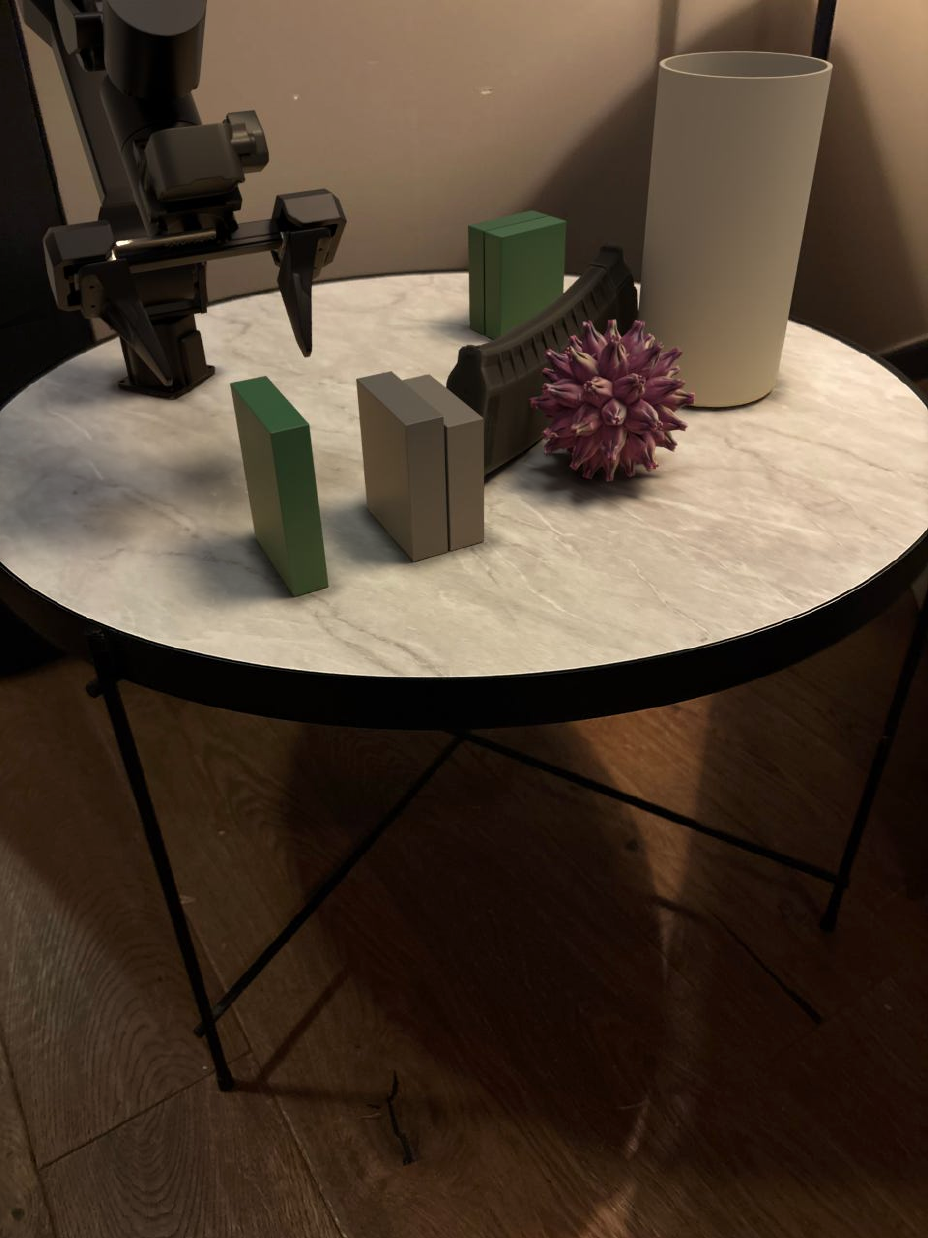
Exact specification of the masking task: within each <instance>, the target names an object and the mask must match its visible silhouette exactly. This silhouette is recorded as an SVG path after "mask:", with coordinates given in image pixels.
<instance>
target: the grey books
mask: <svg viewBox="0 0 928 1238" xmlns="http://www.w3.org/2000/svg"><path fill="white" fill-rule="evenodd" d="M355 383H356V393H357V395H356V396H357V405H358V416H359V417H358V418H359V428H360V441H361V451H362V463H363V474H364V487H365V498H366V509H367V510H368V511H369V513H371V515H372V516H373V517H374V518H375V520H377V522H378V523H379V524H380V525H381V527H382V528H383V529H384V530H385V531H386V532H387V533H388V534H389V536H390V537H391V538H392V539H393V540H394V541H395V542H396V544H397V545H398V546H399V547H400V548H401V550H402V551H403V552H404V553H405V554H406V555H407V557H408V558H409V559H410V560H411V561H412V562H413V563H414V562H418V561H421V560H424V559H428V558H431V557H436V556H439V555H441V554H445V553H448V552H449V551H456V550H459V549H462V548H466V547H469V546H473V545H477V544H479V543H483V542H485V476H484V425H483V418H482V417H481V416H480V415H479V414H477V413H476V412H475V411H474V410H473V409H471V408H470V407H469V406H468V405H466V404H465V403H464V402H463V401H462V400H460V399H459V398H458V397H457V396H455V395H454V394H453V393H452V392H451V391H449V390H448V389H447V388H446V386H444V385H443V384H442V383H441V382H439V381H438V380H437V379H436V378H435V377H434V376H432V375H431V374H430V373H428V374H424V375H419V376H415V377H410V378H406V379H405V378H404V379H401V378H400V377H399V376H398V375H397V374H396V373H394V372H393V371H391V370H390V371H386V372H385V371H384V372H381V373H376V374H372V375H368V376H367V375H366V376H363V377H362V376H361V377H358V378H356V379H355Z"/></svg>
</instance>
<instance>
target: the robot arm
mask: <svg viewBox="0 0 928 1238" xmlns="http://www.w3.org/2000/svg"><path fill="white" fill-rule="evenodd" d="M16 3H17V6H18V8H19V11H20V15H21V17H22V19H23V23H24V24H25V26H26V27H28V28H29V29H30V30H31V31H32V32H33V33H34V34H35V35H36V36H38V37H39V38H40V39H41V40H42V41H43V42H44V43H45V44H46V45H48V46H49V47H50V48H51V50H52V53H53V56H54V58H55V61H56V65H57V68H58V71H59V75H60V77H61V81H62V84H63V87H64V90H65V94H66V97H67V100H68V103H69V106H70V109H71V113H72V116H73V120H74V123H75V126H76V129H77V133H78V135H79V138H80V142H81V144H82V148H83V151H84V154H85V157H86V160H87V164H88V167H89V171H90V173H91V176H92V177H91V178H92V180H93V184H94V187H95V189H96V193H97V196H98V199H99V202H100V205H101V206H100V207H99V211H98V214H97V220H93V221H86V222H79V223H71V224H66V225H58V226H57V225H56V226H52V227H50V226H49V227H48V230H47V231H46V233H45V235H44V236H43V238H42V242H43V243H42V244H43V250H44V251H43V252H44V258H45V265H46V270H47V276H48V280H49V283H50V287H51V291H52V293H53V297H54V300H55V302H56V306H57V308H58V310H62V311H64V312H65V311H66V312H72V311H78V310H80V312H81V313H82V316H83V318H84V319H86V320H87V319H88V320H92V319H93V320H94V319H100V320H101V321H102V322H103V323H105V325H107V326H108V328H109V329H110V331H113V332H115V334H117V335H118V339H119V342H120V343H119V344H120V347H121V351H122V355H123V356H122V357H123V360H124V365H125V369H126V373H127V375H126V376H124V377H122V378H121V379H119V380H117V382H116V385H117V388H119V389H124V390H128V391H134V392H138V393H139V392H140V393H145V394H150V395H156V396H161V397H166V398H178V397H179V396H181V395H183V394H184V393H186V392H187V391H189V390H191V389H192V388H193V387H195V386H196V385H198V384H199V383H201V382H202V381H204V380H205V379H207V378H209V377H211V376H212V375H213V374H215V373H216V366H215V365H212V364H207V359H206V353H205V348H204V343H203V336H202V332H201V330H200V329H198V327H197V322H196V318H195V315H199V314H201V315H203V314H208V307H209V306H210V302H209V297H208V287H207V280H208V279H207V277H208V262H209V261H216V260H223V259H229V258H234V257H235V258H236V257H241V256H246V255H254V254H258V253H265V252H266V253H267V252H270V255H271V257H272V260H273V263H274V265H275V266H277V267H278V268H279V270H278V274H277V277H276V282H277V287H278V289H279V292H280V295H281V298H282V301H283V305H284V308H285V311H286V314H287V317H288V320H289V324H290V327H291V330H292V333H293V337H294V339H295V341H296V344H297V347H298V348H299V350H300V352H301V354H302V356H303V358H305V359H306V358H310V357H311V355H312V352H313V282H314V280H315V279H318V277H320V275H321V272H322V269H323V268H326V267H327V266H329V265H330V264H332V263H333V262H334V259H335V257H336V254H337V251H338V248H339V246H340V242H341V240H342V237H343V234H344V231H345V228H346V226H347V223H348V220H347V218H346V215H345V212H344V208H343V206H342V203H341V201H340V199H339V198H338V197H337V196H336V195H335V194H334V193H333V192H331V190H329V189H327V188H317V189H310V190H304V191H297V192H289V193H282V194H276V196H275V200H274V205H273V208H272V212H271V217H270V218H267V219H260V220H253V221H246V222H239V223H238V221H237V219H236V215H235V213H234V212H239V211H241V210H242V205H243V196H242V193H241V191H240V188H239V185H240V184H244V183H245V182H246V177H245V176H246V175H247V174H254V173H261V172H262V171H263V170H264V169H265V167H267V165H268V164H269V163H270V152H269V148H268V143H267V139H266V135H265V131H264V129H263V126H262V125H261V122H260V120H259V118H258V115H257V112H256V110H255V109H251V110H242V111H241V110H240V111H233V112H228V113H227V114H226V116H225V118H224V119H223V121H222V122H215V123H208V124H203V121H202V119H201V116H200V113H199V110H198V107H197V104H196V101H195V99H194V95H193V92H192V91H193V90H197V89H198V88H199V85H200V83H201V82H200V80H201V71H202V59H203V50H204V39H205V26H206V17H207V16H206V15H207V14H206V13H207V6H208V5H207V4H208V0H16Z"/></svg>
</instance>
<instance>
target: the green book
mask: <svg viewBox="0 0 928 1238" xmlns="http://www.w3.org/2000/svg"><path fill="white" fill-rule="evenodd" d="M229 386H230V393H231V398H232V404H233V405H232V406H233V411H234V416H235V423H236V428H237V434H238V440H239V445H240V451H241V458H242V465H243V470H244V476H245V483H246V489H247V495H248V500H249V507H250V514H251V520H252V524H253V530H254V531H253V532H254V537H255V540H256V541H257V543H258V544H259V546H260V548H261V549H262V550H263V552H264V553H265V555H266V556H267V558H268V559H269V561H270V562H271V564H272V565H273V567H274V569H275V570H276V572H277V573H278V574H279V576H280V578H281V579H282V581H283V582H284V584H285V585H286V587H287V588H288V590H289V591H290V593H291V594H292V596H293V597H298V596H301V595H304V594H308V593H312V592H314V591H318V590H321V589H325V588H328V587H329V585H330V584H329V578H328V577H329V576H328V569H327V560H326V553H325V552H326V551H325V544H324V536H323V528H322V527H323V526H322V518H321V510H320V502H319V494H318V485H317V477H316V476H317V475H316V467H315V459H314V452H313V444H312V434H311V433H312V432H311V427H310V426H311V425H310V423H309V422H308V421H307V420H306V418H304V416H303V415H302V414H301V413H300V412H299V411H298V410H297V408H296V407H295V406H294V405H293V404H292V403H291V402H290V400H289V399H287V397H286V396H285V395H284V394H283V393H282V391H280V389H279V388H278V387H277V386H276V385H275V384H274V383H273V381H272V380H271V379H270V378H269V377H268V376H267V375H263V376H258V377H254V378H253V377H252V378H249V379H243V380H239V381H234V382H230V384H229Z"/></svg>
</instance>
